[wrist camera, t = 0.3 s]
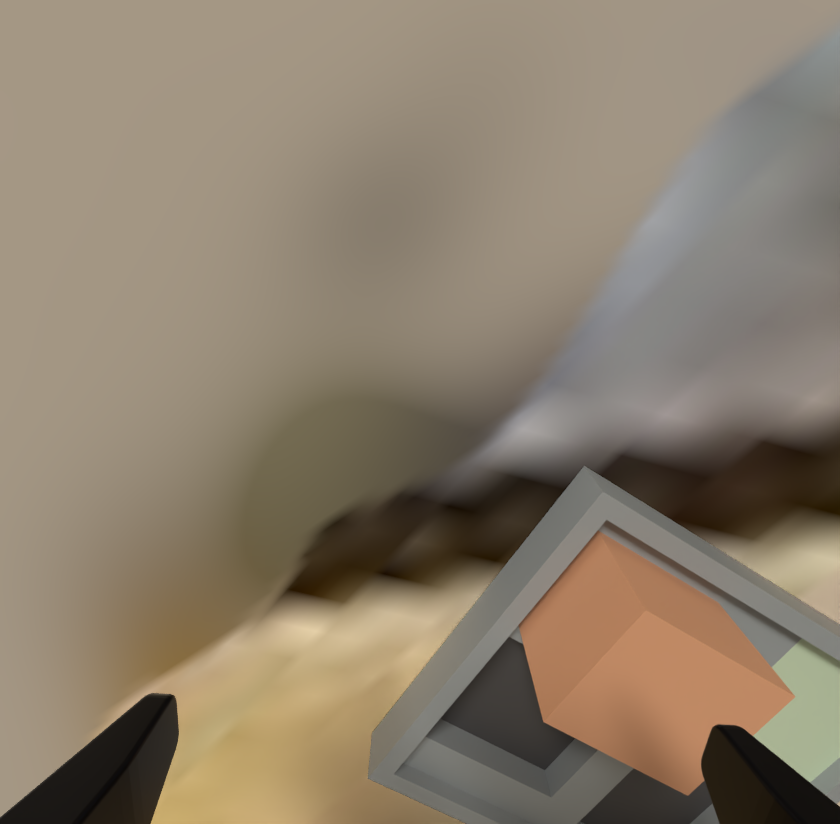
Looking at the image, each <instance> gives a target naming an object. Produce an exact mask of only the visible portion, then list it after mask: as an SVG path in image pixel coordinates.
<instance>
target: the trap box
mask: <svg viewBox="0 0 840 824" xmlns="http://www.w3.org/2000/svg"><path fill="white" fill-rule="evenodd" d="M597 531H600V532H602V533H603V534H605V535H607V536H608V537H610V538H612V539H613V540H615V541H617V542H618V543H620V544H622V545H623V546H625V547H627V548H628V549H630V550H632V551H633V552H635V553H637V554H638V555H640V556H642V557H643V558H645V559H647V560H648V561H650V562H652V563H653V564H655V565H657V566H658V567H660V568H662V569H663V570H665V571H667V572H668V573H670V574H672V575H673V576H675V577H677V578H678V579H680V580H682V581H683V582H685V583H687V584H688V585H690V586H692V587H693V588H695V589H697V590H698V591H700V592H702V593H703V594H705V595H707V596H708V597H710V598H712V599H713V600H715V601H717V602H718V603H719V604H720V605H721V606H722V608H723V609H724V610H725V611H726V612H727V614H728V615H729V616H730V617H731V619H732V620H733V621H734V622H735V623H736V625H737V626H738V627H739V628H740V630H741V631H742V632H743V633H744V634H745V636H746V637H747V638H748V639H749V641H750V642H751V643H752V644H753V645H754V647H755V648H756V649H757V650H758V652H759V653H760V654H761V655H762V656H763V658H764V659H765V660H766V661H767V662H768V664H769V665H770V666H771V667H772V669H773V670H774V671H775V672H776V673H777V675H778V676H779V677H780V678H781V680H782V681H783V682H784V683H785V684H786V686H787V687H788V688H789V689H790V691H791V692H792V693H793V694H794V695H795V698H794V699H793V700H791V701H790V702H789V703H788V704H787V705H786V706H785V707H784V708H783V709H782V710H781V711H779V712H778V713H777V714H776V715H775V716H774V717H773V718H772V719H771V720H770V721H769V722H768V723H766V724H765V725H764V726H763V727H762V728H761V729H760V730H759V731H758V732H757V733H756V734H754V735H753V737H755V738H756V739H757V740H758V741H760V742H761V743H762V744H763V745H765V746H766V747H767V748H768V749H769V750H771V751H772V752H773V753H774V754H776V755H777V756H778V757H779V758H781V759H782V760H783V761H784V762H785V763H787V764H788V765H789V766H790V767H792V768H793V769H794V770H795V771H796V772H798V773H799V774H800V775H801V776H803V777H804V778H805V779H806V780H808V781H809V782H810V783H811V784H812V785H814V786H815V787H816V788H817V789H819V790H820V791H821V792H822V793H824V794H825V795H826V796H827V797H828V798H830V799H831V800H832V801H833V802H835V803H836V804H837V803H838V802H839V801H840V625H839V624H838V623H836V622H835V621H833V620H831V619H830V618H828V617H827V616H825V615H823V614H822V613H820V612H818V611H817V610H815V609H814V608H812V607H810V606H809V605H807V604H806V603H804V602H802V601H801V600H799V599H798V598H796V597H794V596H793V595H791V594H790V593H788V592H786V591H785V590H783V589H781V588H780V587H778V586H777V585H775V584H773V583H772V582H770V581H769V580H767V579H765V578H764V577H762V576H761V575H759V574H757V573H756V572H754V571H753V570H751V569H749V568H748V567H746V566H745V565H743V564H741V563H740V562H738V561H736V560H735V559H733V558H732V557H730V556H728V555H727V554H725V553H724V552H722V551H720V550H719V549H717V548H716V547H714V546H712V545H711V544H709V543H708V542H706V541H704V540H703V539H701V538H699V537H698V536H696V535H695V534H693V533H691V532H690V531H688V530H687V529H685V528H683V527H682V526H680V525H679V524H677V523H675V522H674V521H672V520H671V519H669V518H667V517H666V516H664V515H663V514H661V513H659V512H658V511H656V510H654V509H653V508H651V507H650V506H648V505H646V504H645V503H643V502H642V501H640V500H638V499H637V498H635V497H634V496H632V495H630V494H629V493H627V492H626V491H624V490H622V489H621V488H619V487H617V486H616V485H614V484H613V483H611V482H609V481H608V480H606V479H605V478H603V477H601V476H600V475H598V474H597V473H595V472H593V471H592V470H590V469H589V468H587V467H585V466H584V467H583V468H582V470H581V471H580V472H579V473H578V475H577V476H576V477H575V478H574V480H573V481H572V482H571V483H570V485H569V486H568V487H567V488H566V490H565V491H564V492H563V493H562V495H561V496H560V497H559V498H558V500H557V501H556V502H555V503H554V505H553V506H552V507H551V509H550V510H549V511H548V512H547V514H546V515H545V516H544V517H543V519H542V520H541V521H540V522H539V524H538V525H537V526H536V527H535V529H534V530H533V531H532V532H531V534H530V535H529V536H528V537H527V539H526V540H525V541H524V542H523V544H522V545H521V546H520V548H519V549H518V550H517V551H516V553H515V554H514V555H513V556H512V558H511V559H510V560H509V561H508V563H507V564H506V565H505V566H504V568H503V569H502V570H501V571H500V573H499V574H498V575H497V576H496V578H495V579H494V580H493V581H492V583H491V584H490V585H489V586H488V588H487V589H486V590H485V592H484V593H483V594H482V595H481V597H480V598H479V599H478V600H477V602H476V603H475V604H474V605H473V607H472V608H471V609H470V610H469V612H468V613H467V614H466V615H465V617H464V618H463V619H462V620H461V622H460V623H459V624H458V625H457V627H456V628H455V629H454V631H453V632H452V633H451V634H450V636H449V637H448V638H447V639H446V641H445V642H444V643H443V644H442V646H441V647H440V648H439V649H438V651H437V652H436V653H435V654H434V656H433V657H432V658H431V659H430V661H429V662H428V663H427V664H426V666H425V667H424V668H423V669H422V671H421V672H420V673H419V675H418V676H417V677H416V678H415V680H414V681H413V682H412V683H411V685H410V686H409V687H408V688H407V690H406V691H405V692H404V693H403V695H402V696H401V697H400V698H399V700H398V701H397V702H396V703H395V705H394V706H393V707H392V708H391V710H390V711H389V712H388V714H387V715H386V716H385V717H384V719H383V720H382V721H381V722H380V724H379V725H378V726H377V727H376V729H375V730H374V731H373V732H372V739H371V749H370V760H369V770H368V779H370V780H372V781H374V782H376V783H379V784H381V785H383V786H385V787H387V788H390V789H392V790H394V791H396V792H398V793H400V794H403V795H405V796H407V797H409V798H411V799H414V800H416V801H418V802H420V803H422V804H424V805H427V806H429V807H431V808H433V809H435V810H438V811H440V812H442V813H444V814H446V815H448V816H451V817H453V818H455V819H457V820H459V821H462V822H464V823H466V824H719V821H718V818H717V815H716V812H715V810H714V807H713V804H712V801H711V798H710V795H709V792H708V789H707V786H706V783H705V781H703V782H702V783H701V784H700V785H699V786H698V787H697V788H696V789H695V790H694V791H693V792H691V793H690V794H689V795H688V796H687V795H685V794H683V793H681V792H679V791H677V790H675V789H673V788H671V787H670V786H668V785H666V784H664V783H662V782H660V781H658V780H656V779H654V778H652V777H650V776H648V775H646V774H644V773H642V772H640V771H638V770H636V769H634V768H632V767H630V766H628V765H627V764H625V763H623V762H621V761H619V760H617V759H615V758H613V757H611V756H609V755H607V754H605V753H603V752H601V751H599V750H597V749H595V748H593V747H591V746H589V745H587V744H586V743H584V742H582V741H580V740H578V739H576V738H574V737H572V736H570V735H568V734H566V733H564V732H562V731H560V730H558V729H556V728H554V727H552V726H550V725H548V724H546V723H544V722H543V719H542V715H541V711H540V707H539V703H538V699H537V695H536V691H535V687H534V684H533V680H532V676H531V672H530V668H529V664H528V660H527V656H526V652H525V648H524V645H523V641H522V637H521V633H520V629H519V624H520V623H521V621H522V620H523V619H524V618H525V617H526V616H527V614H528V613H529V612H530V611H531V610H532V608H533V607H534V606H535V605H536V604H537V602H538V601H539V600H540V599H541V598H542V596H543V595H544V594H545V593H546V592H547V590H548V589H549V588H550V587H551V586H552V584H553V583H554V582H555V581H556V580H557V579H558V577H559V576H560V575H561V574H562V573H563V571H564V570H565V569H566V568H567V567H568V565H569V564H570V563H571V562H572V561H573V559H574V558H575V557H576V556H577V555H578V553H579V552H580V551H581V550H582V549H583V547H584V546H585V545H586V544H587V543H588V542H589V540H590V539H591V538H592V537H593V536H594V534H595V533H596V532H597Z"/></svg>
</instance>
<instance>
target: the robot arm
mask: <svg viewBox="0 0 840 824" xmlns="http://www.w3.org/2000/svg"><path fill="white" fill-rule="evenodd" d="M178 736H179V728H178V715H177V702H176V698H175V696H174V695H171V694H159V693H151V694H148V695H146V696H145V697H144V698H142V699H141V700H140V701H139V702H138V703H136V704H135V705H134V706H133V707H132V708H130V709H129V710H128V711H127V712H126V713H124V714H123V715H122V716H121V717H120V718H118V719H117V720H116V721H115V722H114V723H112V724H111V725H110V726H109V727H108V728H106V729H105V730H104V731H103V732H102V733H100V734H99V735H98V736H97V737H96V738H95V739H93V740H92V741H91V742H90V743H89V744H87V745H86V746H85V747H84V748H83V749H81V750H80V751H79V752H78V753H77V754H75V755H74V756H73V757H72V758H71V759H69V760H68V761H67V762H66V763H65V764H63V765H62V766H61V767H60V768H59V769H57V770H56V771H55V772H54V773H53V774H52V775H50V776H49V777H48V778H47V779H46V780H44V781H43V782H42V783H41V784H40V785H38V786H37V787H36V788H35V789H34V790H32V791H31V792H30V793H29V794H28V795H27V796H25V797H24V798H23V799H22V800H20V801H19V802H18V803H17V804H16V805H14V806H13V807H12V808H11V809H10V810H8V811H7V812H6V813H5V814H4V815H3V816H1V817H0V824H151V821H152V818H153V815H154V812H155V809H156V806H157V803H158V800H159V797H160V794H161V791H162V788H163V785H164V782H165V779H166V776H167V773H168V770H169V767H170V765H171V762H172V759H173V756H174V753H175V750H176V746H177V742H178ZM701 770H702V774H703V778H704V781H705V783H706V786H707V789H708V792H709V795H710V798H711V801H712V804H713V807H714V810H715V812H716V815H717V818H718V821H719V824H840V806H838V805H837V804H836V803H835V802H833V801H832V800H831V799H830V798H828V797H827V796H826V795H825V794H824V793H822V792H821V791H820V790H819V789H817V788H816V787H815V786H814V785H812V784H811V783H810V782H809V781H808V780H806V779H805V778H804V777H803V776H801V775H800V774H799V773H798V772H796V771H795V770H794V769H793V768H792V767H790V766H789V765H788V764H787V763H785V762H784V761H783V760H782V759H781V758H779V757H778V756H777V755H776V754H774V753H773V752H772V751H771V750H769V749H768V748H767V747H766V746H765V745H763V744H762V743H761V742H760V741H758V740H757V739H756V738H755V737H753V736H752V735H751V734H750V733H749V732H747V731H746V730H745V729H743V728H742V727H740V726H737V725H724V724H717V725H715V726H713V727H712V729H711V731H710V734H709V737H708V740H707V743H706V746H705V749H704V752H703V755H702V758H701Z"/></svg>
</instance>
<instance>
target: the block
mask: <svg viewBox="0 0 840 824" xmlns="http://www.w3.org/2000/svg"><path fill="white" fill-rule="evenodd" d="M519 629H520V633H521V637H522V641H523V645H524V648H525V652H526V656H527V660H528V664H529V668H530V672H531V676H532V680H533V684H534V687H535V691H536V695H537V699H538V703H539V707H540V711H541V715H542V719H543V722H544V723H546V724H548V725H550V726H552V727H554V728H556V729H558V730H560V731H562V732H564V733H566V734H568V735H570V736H572V737H574V738H576V739H578V740H580V741H582V742H584V743H586V744H587V745H589V746H591V747H593V748H595V749H597V750H599V751H601V752H603V753H605V754H607V755H609V756H611V757H613V758H615V759H617V760H619V761H621V762H623V763H625V764H627V765H628V766H630V767H632V768H634V769H636V770H638V771H640V772H642V773H644V774H646V775H648V776H650V777H652V778H654V779H656V780H658V781H660V782H662V783H664V784H666V785H668V786H670V787H671V788H673V789H675V790H677V791H679V792H681V793H683V794H685V795H687V796H688V795H689V794H690V793H691V792H693V791H694V790H695V789H696V788H697V787H698V786H699V785H700V784H701V783H702V782H703V781H704V778H703V774H702V770H701V758H702V755H703V752H704V749H705V746H706V743H707V740H708V737H709V734H710V731H711V729H712V727H713V726H715V725H717V724H724V725H737V726H740V727H742V728H743V729H745V730H746V731H747V732H749V733H750V734H751V735H752V736H753V735H754V734H756V733H757V732H758V731H759V730H760V729H761V728H762V727H763V726H764V725H765V724H766V723H768V722H769V721H770V720H771V719H772V718H773V717H774V716H775V715H776V714H777V713H778V712H779V711H781V710H782V709H783V708H784V707H785V706H786V705H787V704H788V703H789V702H790V701H791V700H793V699H794V698H795V695H794V694H793V693H792V692H791V691H790V689H789V688H788V687H787V686H786V684H785V683H784V682H783V681H782V680H781V678H780V677H779V676H778V675H777V673H776V672H775V671H774V670H773V669H772V667H771V666H770V665H769V664H768V662H767V661H766V660H765V659H764V658H763V656H762V655H761V654H760V653H759V652H758V650H757V649H756V648H755V647H754V645H753V644H752V643H751V642H750V641H749V639H748V638H747V637H746V636H745V634H744V633H743V632H742V631H741V630H740V628H739V627H738V626H737V625H736V623H735V622H734V621H733V620H732V619H731V617H730V616H729V615H728V614H727V612H726V611H725V610H724V609H723V608H722V606H721V605H720V604H719V603H718V602H717V601H715V600H713V599H712V598H710V597H708V596H707V595H705V594H703V593H702V592H700V591H698V590H697V589H695V588H693V587H692V586H690V585H688V584H687V583H685V582H683V581H682V580H680V579H678V578H677V577H675V576H673V575H672V574H670V573H668V572H667V571H665V570H663V569H662V568H660V567H658V566H657V565H655V564H653V563H652V562H650V561H648V560H647V559H645V558H643V557H642V556H640V555H638V554H637V553H635V552H633V551H632V550H630V549H628V548H627V547H625V546H623V545H622V544H620V543H618V542H617V541H615V540H613V539H612V538H610V537H608V536H607V535H605V534H603V533H602V532H600V531H597V532H596V533H595V534H594V536H593V537H592V538H591V539H590V540H589V542H588V543H587V544H586V545H585V546H584V547H583V549H582V550H581V551H580V552H579V553H578V555H577V556H576V557H575V558H574V559H573V561H572V562H571V563H570V564H569V565H568V567H567V568H566V569H565V570H564V571H563V573H562V574H561V575H560V576H559V577H558V579H557V580H556V581H555V582H554V583H553V584H552V586H551V587H550V588H549V589H548V590H547V592H546V593H545V594H544V595H543V596H542V598H541V599H540V600H539V601H538V602H537V604H536V605H535V606H534V607H533V608H532V610H531V611H530V612H529V613H528V614H527V616H526V617H525V618H524V619H523V620H522V621H521V623H520V624H519Z"/></svg>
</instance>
